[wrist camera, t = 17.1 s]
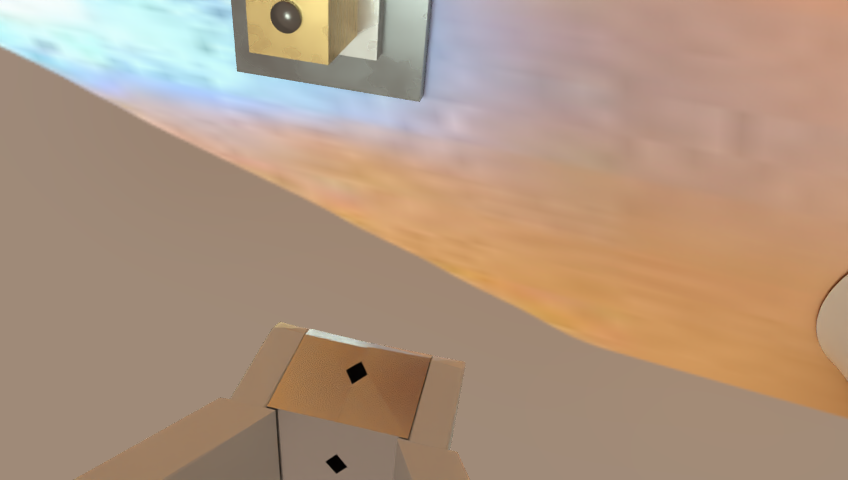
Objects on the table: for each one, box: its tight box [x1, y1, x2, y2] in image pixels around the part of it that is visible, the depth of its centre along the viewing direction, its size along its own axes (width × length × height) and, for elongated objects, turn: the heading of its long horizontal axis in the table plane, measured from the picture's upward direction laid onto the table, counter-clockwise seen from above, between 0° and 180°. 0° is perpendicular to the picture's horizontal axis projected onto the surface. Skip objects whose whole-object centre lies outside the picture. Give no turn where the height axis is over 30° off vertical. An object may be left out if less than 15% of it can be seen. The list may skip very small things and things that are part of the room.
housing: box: [246, 0, 358, 65], centre depth 39 cm, size 5×5×6 cm
